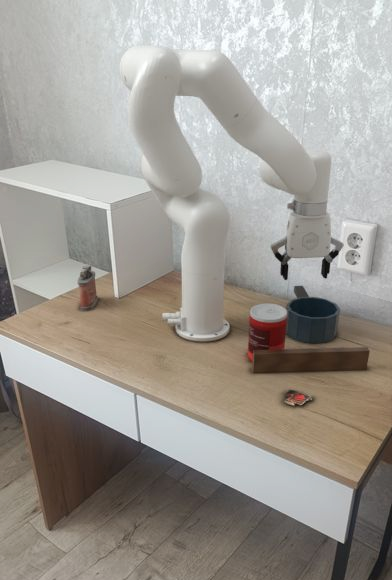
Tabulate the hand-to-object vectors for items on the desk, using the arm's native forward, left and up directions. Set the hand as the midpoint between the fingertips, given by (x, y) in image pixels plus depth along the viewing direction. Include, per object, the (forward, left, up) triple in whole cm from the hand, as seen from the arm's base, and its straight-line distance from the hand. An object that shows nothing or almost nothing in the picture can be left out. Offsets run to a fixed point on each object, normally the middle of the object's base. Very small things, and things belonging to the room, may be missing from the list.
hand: (304, 277), depth 136 cm
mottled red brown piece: (-10, -40, -8) cm, 42 cm away
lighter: (-54, +6, -9) cm, 55 cm away
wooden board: (-5, -29, -9) cm, 31 cm away
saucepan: (-1, -8, -9) cm, 12 cm away
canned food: (-13, -24, -9) cm, 29 cm away
